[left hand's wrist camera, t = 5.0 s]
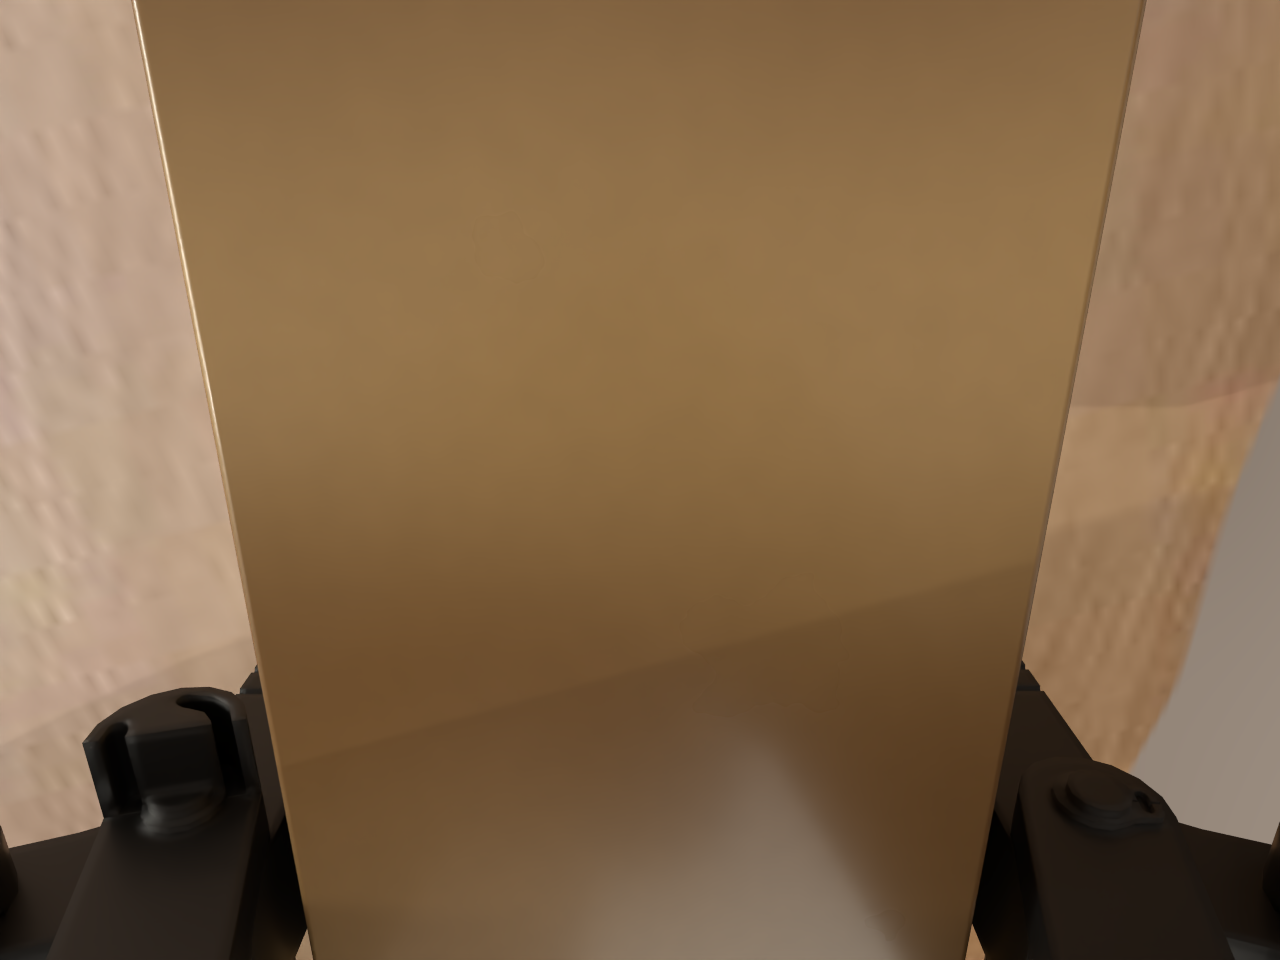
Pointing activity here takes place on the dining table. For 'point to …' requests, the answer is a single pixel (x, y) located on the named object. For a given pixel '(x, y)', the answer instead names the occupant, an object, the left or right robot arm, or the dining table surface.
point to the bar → (639, 445)
